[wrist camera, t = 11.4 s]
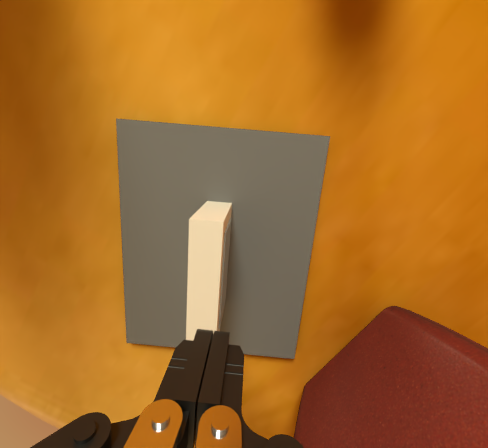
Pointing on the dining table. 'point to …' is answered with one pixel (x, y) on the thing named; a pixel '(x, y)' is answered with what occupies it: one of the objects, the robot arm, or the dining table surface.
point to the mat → (241, 236)
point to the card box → (207, 266)
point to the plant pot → (399, 389)
